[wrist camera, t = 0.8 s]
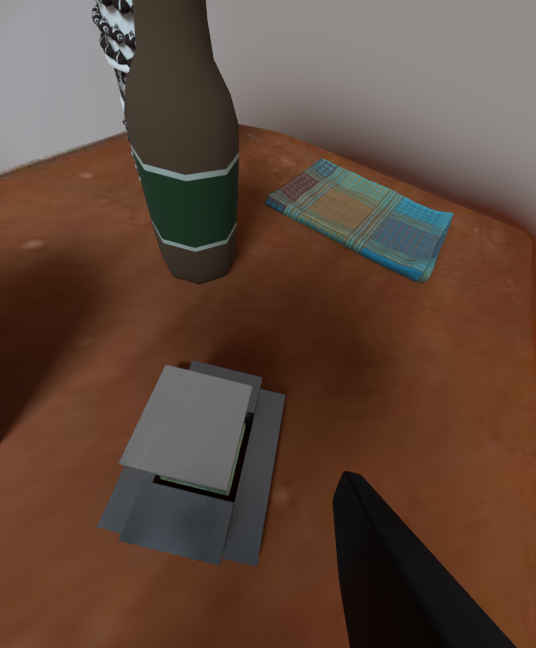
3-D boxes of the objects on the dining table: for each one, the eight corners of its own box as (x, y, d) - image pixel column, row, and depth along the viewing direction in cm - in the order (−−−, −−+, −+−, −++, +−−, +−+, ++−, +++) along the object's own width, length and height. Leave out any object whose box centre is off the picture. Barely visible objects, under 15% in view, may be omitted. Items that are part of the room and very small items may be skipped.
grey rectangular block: (228, 495, 17) (229, 496, 9) (163, 479, 17) (112, 467, 9) (245, 427, 19) (256, 383, 12) (188, 413, 19) (163, 361, 12)
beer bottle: (232, 236, 31) (242, -220, 11) (238, 285, 27) (268, -305, 7) (165, 236, 30) (37, -292, 10) (159, 287, 25) (-84, -454, 6)
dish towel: (420, 292, 31) (434, 277, 29) (261, 208, 36) (264, 191, 34) (447, 227, 40) (459, 212, 38) (317, 168, 45) (321, 152, 43)
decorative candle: (200, 162, 40) (171, -198, 19) (210, 196, 35) (186, -232, 14) (136, 162, 37) (24, -249, 17) (138, 199, 33) (-16, -309, 12)
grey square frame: (255, 562, 15) (263, 582, 12) (103, 525, 15) (68, 534, 12) (283, 398, 21) (293, 380, 17) (172, 371, 21) (162, 347, 17)
